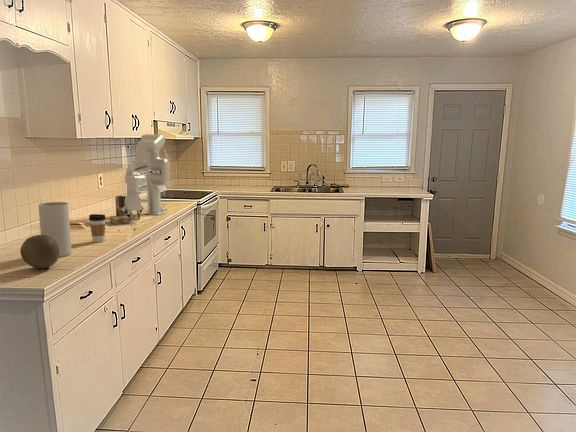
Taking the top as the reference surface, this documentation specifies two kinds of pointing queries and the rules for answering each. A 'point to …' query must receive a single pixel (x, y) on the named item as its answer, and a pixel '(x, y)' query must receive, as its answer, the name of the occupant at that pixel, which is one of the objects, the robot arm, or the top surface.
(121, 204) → the coffee box
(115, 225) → the board
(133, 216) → the oak cube
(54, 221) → the cylinder vase
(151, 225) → the top surface
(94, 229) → the coffee cup
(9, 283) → the top surface
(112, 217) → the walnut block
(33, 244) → the cantaloupe
